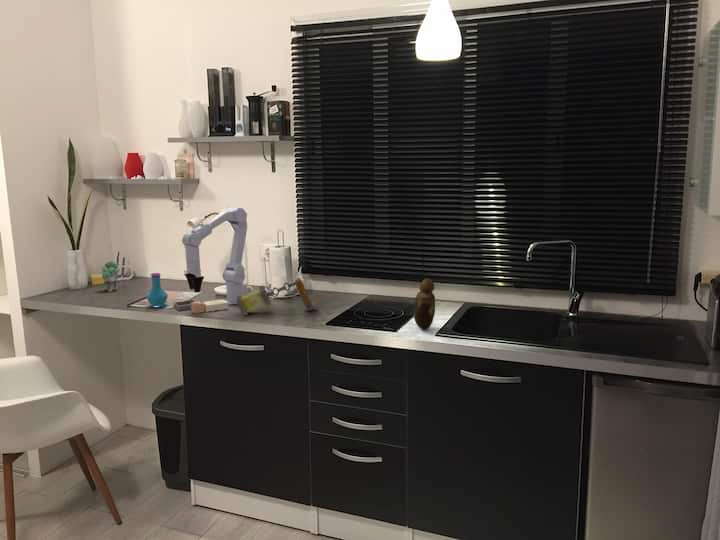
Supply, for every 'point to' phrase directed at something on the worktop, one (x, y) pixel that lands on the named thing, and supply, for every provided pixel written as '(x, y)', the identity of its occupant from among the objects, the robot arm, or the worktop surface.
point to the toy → (110, 276)
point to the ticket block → (215, 305)
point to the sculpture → (425, 304)
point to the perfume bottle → (156, 292)
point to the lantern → (261, 299)
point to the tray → (183, 305)
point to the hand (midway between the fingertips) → (195, 290)
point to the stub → (197, 307)
